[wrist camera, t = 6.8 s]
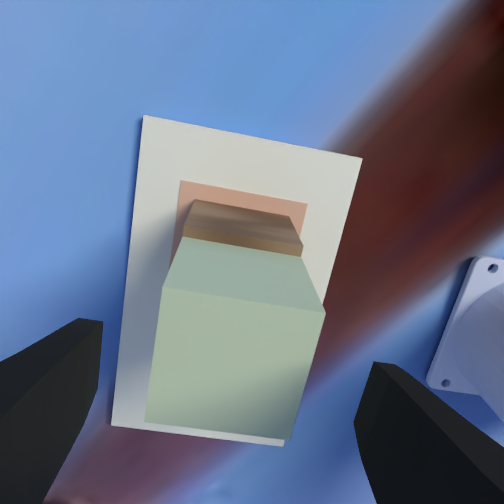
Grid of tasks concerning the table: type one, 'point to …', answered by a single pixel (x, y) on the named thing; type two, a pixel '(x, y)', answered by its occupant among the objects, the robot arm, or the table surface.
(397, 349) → the table surface
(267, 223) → the walnut block
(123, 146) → the table surface
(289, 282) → the sage block
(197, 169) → the build mat
